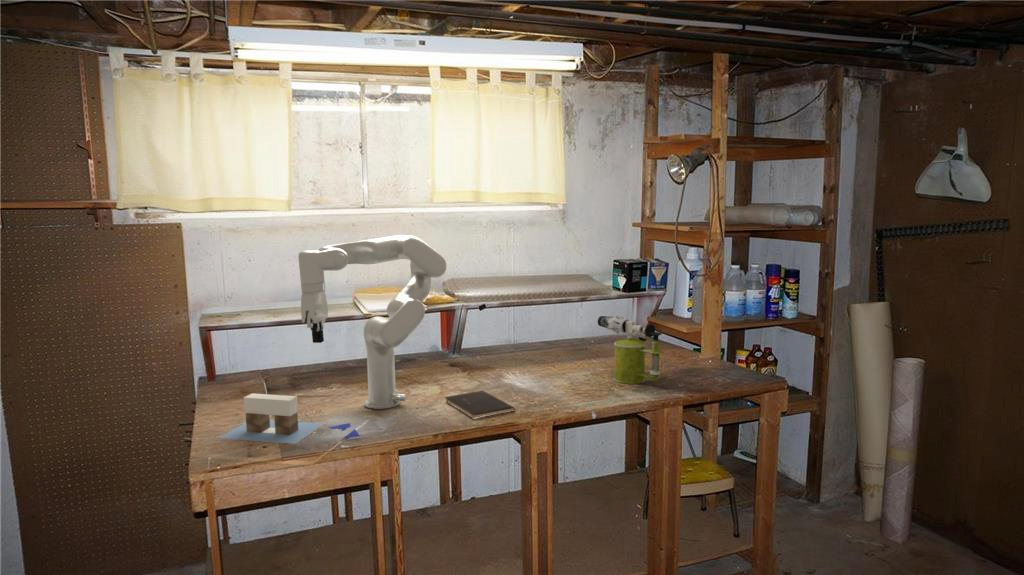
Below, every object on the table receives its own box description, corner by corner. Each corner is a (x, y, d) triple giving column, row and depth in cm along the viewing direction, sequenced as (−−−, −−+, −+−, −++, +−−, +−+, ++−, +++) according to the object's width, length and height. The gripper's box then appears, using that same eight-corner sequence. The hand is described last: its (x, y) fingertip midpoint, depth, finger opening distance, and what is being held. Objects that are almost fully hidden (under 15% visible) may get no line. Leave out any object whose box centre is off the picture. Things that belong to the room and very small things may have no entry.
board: (324, 426, 220) (324, 423, 220) (295, 447, 203) (294, 443, 203) (252, 421, 226) (252, 418, 226) (218, 441, 209) (218, 437, 208)
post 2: (298, 429, 215) (297, 411, 214) (289, 435, 210) (288, 416, 209) (284, 428, 216) (283, 410, 215) (275, 433, 211) (274, 415, 211)
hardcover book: (473, 421, 226) (473, 414, 225) (445, 403, 246) (444, 396, 245) (515, 413, 234) (515, 406, 233) (484, 396, 253) (484, 390, 253)
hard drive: (325, 426, 217) (333, 439, 206) (351, 422, 221) (360, 434, 210) (325, 431, 218) (333, 444, 207) (351, 427, 221) (360, 439, 210)
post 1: (270, 427, 217) (268, 409, 216) (261, 432, 212) (259, 414, 212) (256, 426, 218) (254, 408, 218) (246, 431, 214) (245, 413, 213)
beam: (298, 411, 214) (297, 396, 213) (290, 416, 210) (289, 400, 209) (253, 408, 218) (252, 393, 217) (244, 412, 213) (243, 397, 213)
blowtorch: (649, 391, 254) (650, 326, 251) (589, 373, 281) (589, 314, 277) (672, 385, 262) (674, 322, 259) (612, 368, 288) (612, 310, 285)
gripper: (313, 284, 231) (318, 336, 234) (291, 291, 217) (296, 347, 220) (334, 284, 230) (338, 336, 233) (312, 291, 215) (317, 348, 218)
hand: (318, 342), depth 226 cm, fingers closed
